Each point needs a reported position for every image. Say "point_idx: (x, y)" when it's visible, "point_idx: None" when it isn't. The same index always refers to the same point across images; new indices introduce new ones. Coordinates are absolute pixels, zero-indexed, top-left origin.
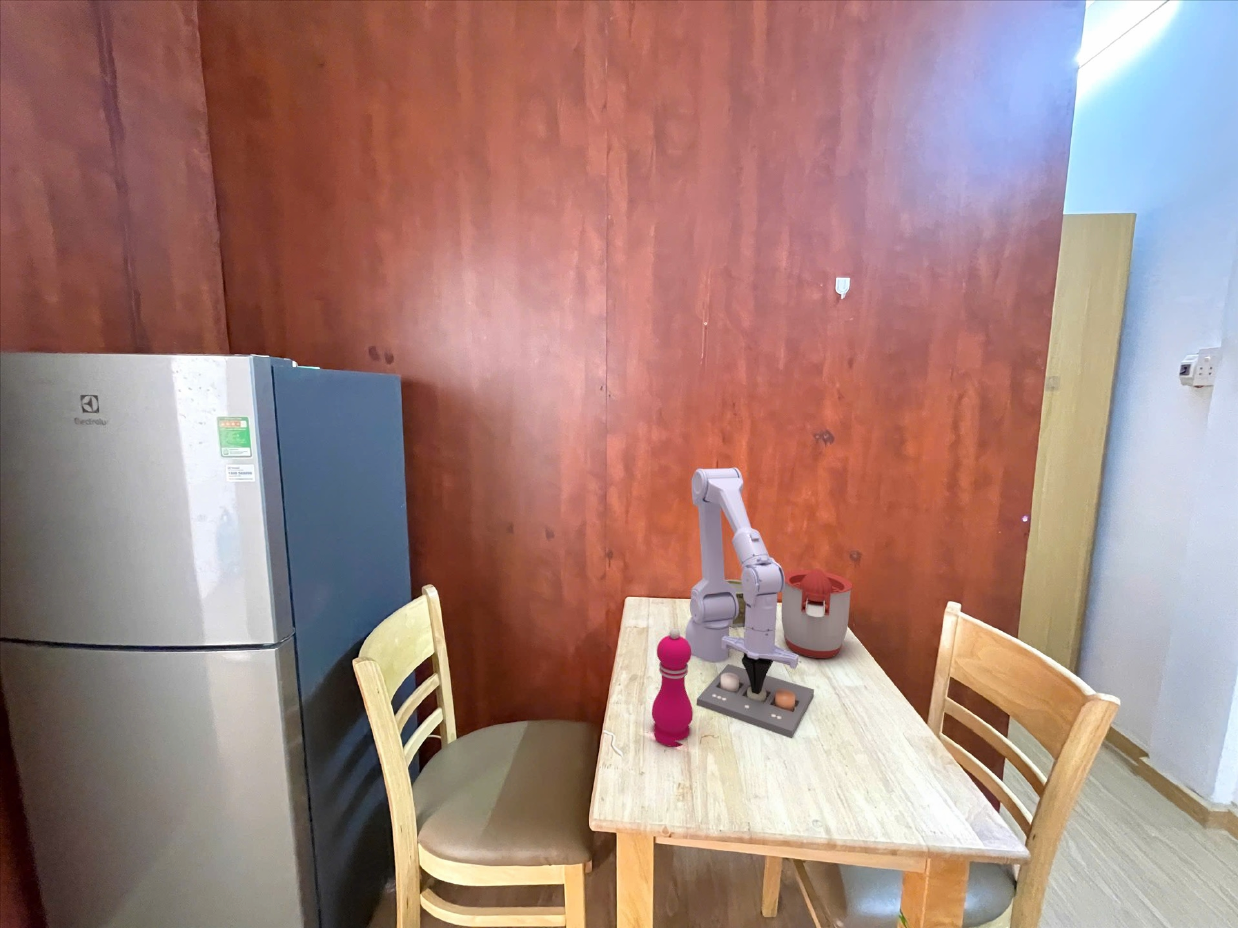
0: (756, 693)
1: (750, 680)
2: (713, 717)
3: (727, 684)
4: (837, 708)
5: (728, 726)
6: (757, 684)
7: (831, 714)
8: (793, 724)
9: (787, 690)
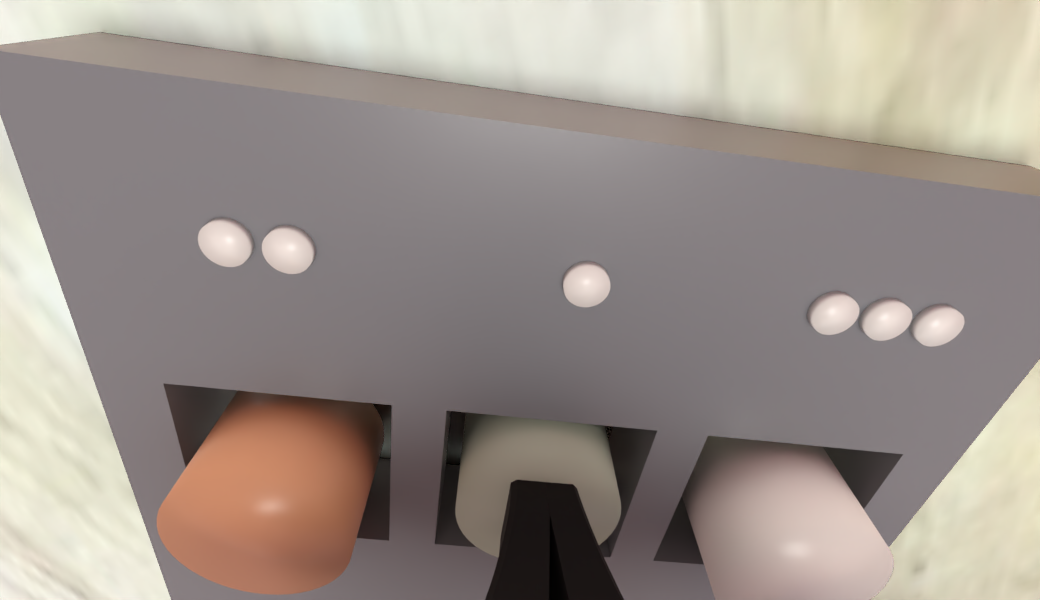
0: (531, 483)
1: (610, 596)
2: (868, 130)
3: (815, 498)
4: (84, 557)
5: (720, 46)
6: (524, 568)
7: (78, 503)
8: (47, 192)
9: (270, 588)
